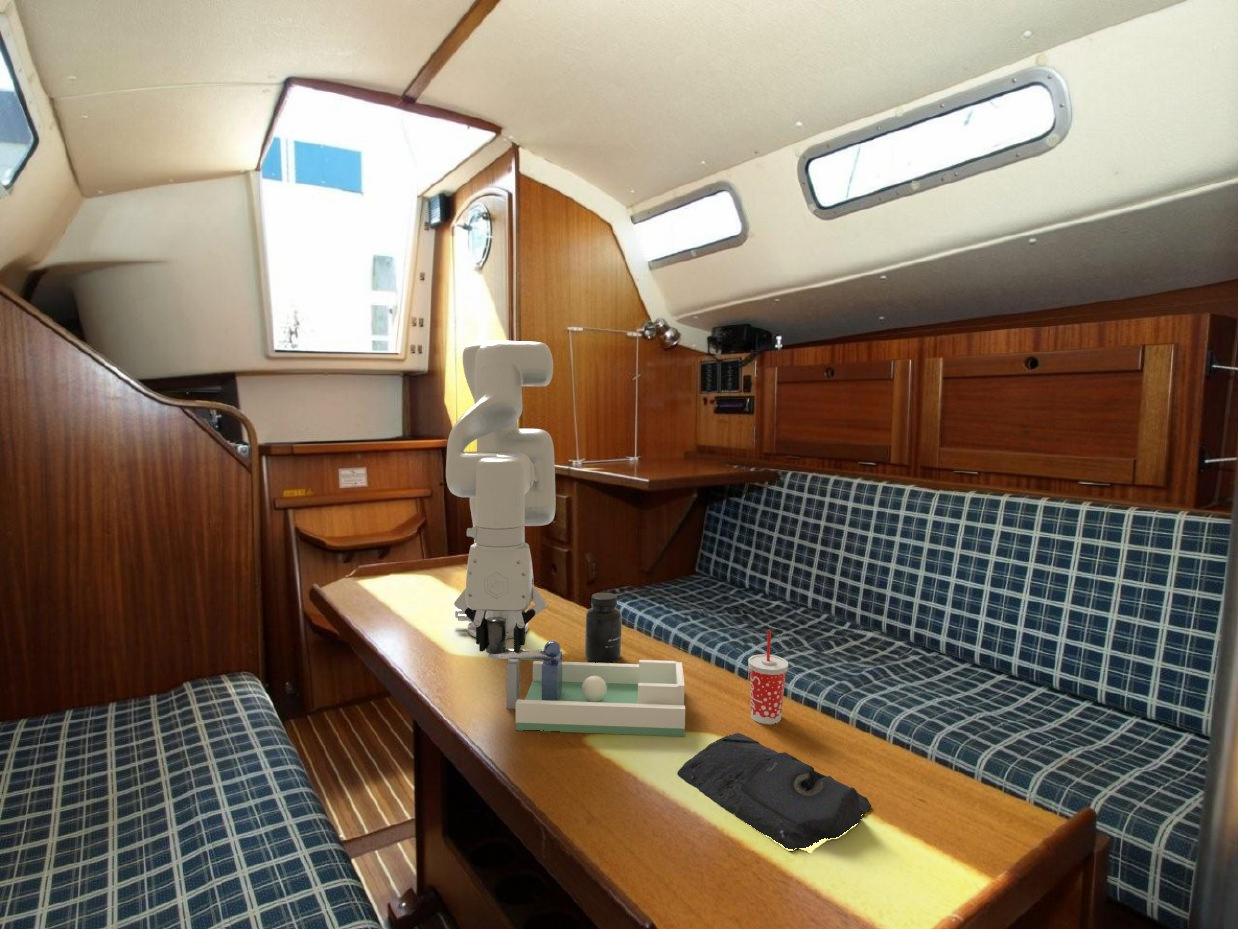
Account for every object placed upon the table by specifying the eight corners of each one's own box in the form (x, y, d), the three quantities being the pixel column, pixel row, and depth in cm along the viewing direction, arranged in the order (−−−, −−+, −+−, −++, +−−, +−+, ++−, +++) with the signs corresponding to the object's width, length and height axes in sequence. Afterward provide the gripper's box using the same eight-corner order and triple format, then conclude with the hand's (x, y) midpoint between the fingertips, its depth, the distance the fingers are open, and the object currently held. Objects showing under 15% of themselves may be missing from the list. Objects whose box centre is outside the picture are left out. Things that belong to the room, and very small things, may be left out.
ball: (580, 706, 107) (580, 681, 106) (582, 694, 111) (583, 671, 110) (605, 707, 107) (606, 682, 106) (607, 695, 111) (607, 672, 110)
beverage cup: (743, 707, 110) (746, 623, 108) (781, 708, 110) (785, 624, 108) (749, 726, 104) (752, 636, 102) (789, 727, 103) (793, 637, 102)
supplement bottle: (617, 666, 126) (618, 602, 124) (581, 662, 127) (581, 599, 126) (624, 652, 132) (625, 592, 131) (589, 649, 134) (590, 589, 132)
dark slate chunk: (745, 741, 100) (746, 710, 100) (882, 815, 83) (885, 778, 82) (667, 775, 91) (668, 741, 90) (803, 867, 74) (805, 826, 73)
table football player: (481, 703, 106) (481, 626, 105) (490, 686, 112) (490, 613, 111) (557, 705, 106) (558, 628, 105) (562, 689, 112) (563, 615, 111)
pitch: (496, 729, 101) (496, 682, 101) (517, 683, 117) (517, 642, 117) (684, 736, 100) (685, 688, 99) (679, 689, 116) (681, 647, 115)
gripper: (439, 540, 103) (440, 656, 105) (551, 542, 102) (550, 659, 104) (453, 530, 111) (454, 639, 113) (557, 532, 110) (557, 642, 112)
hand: (500, 647), depth 108 cm, fingers closed on table football player, 4 cm apart
